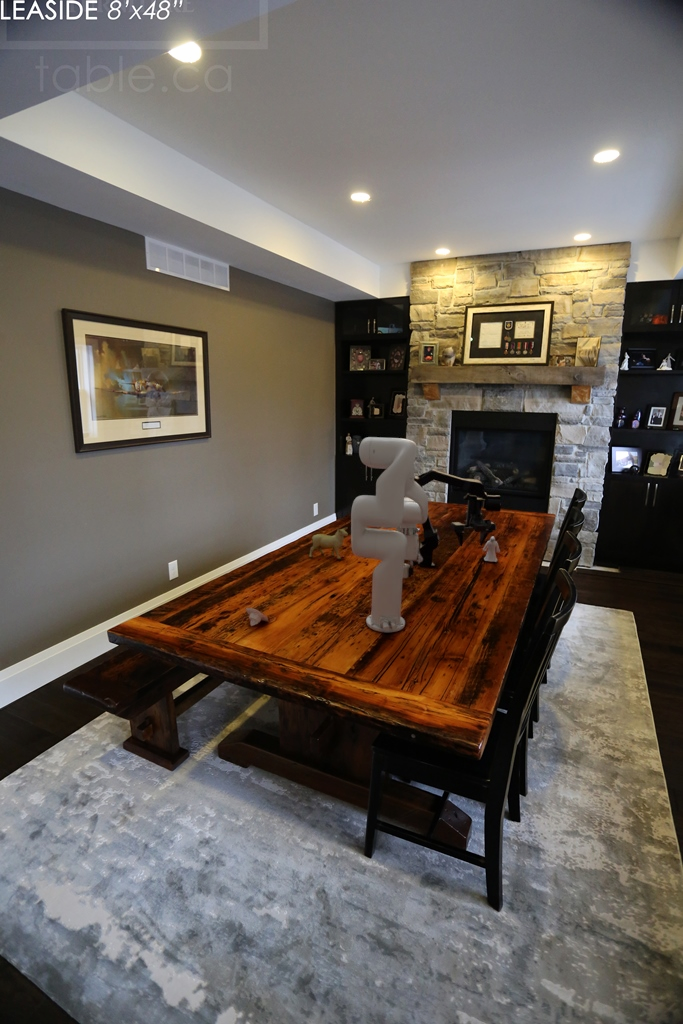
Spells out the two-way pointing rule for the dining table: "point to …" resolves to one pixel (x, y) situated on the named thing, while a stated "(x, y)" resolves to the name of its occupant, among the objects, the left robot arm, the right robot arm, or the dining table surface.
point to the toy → (329, 542)
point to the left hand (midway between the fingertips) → (403, 575)
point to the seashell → (255, 616)
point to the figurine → (491, 550)
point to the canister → (406, 570)
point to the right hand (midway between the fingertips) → (471, 545)
